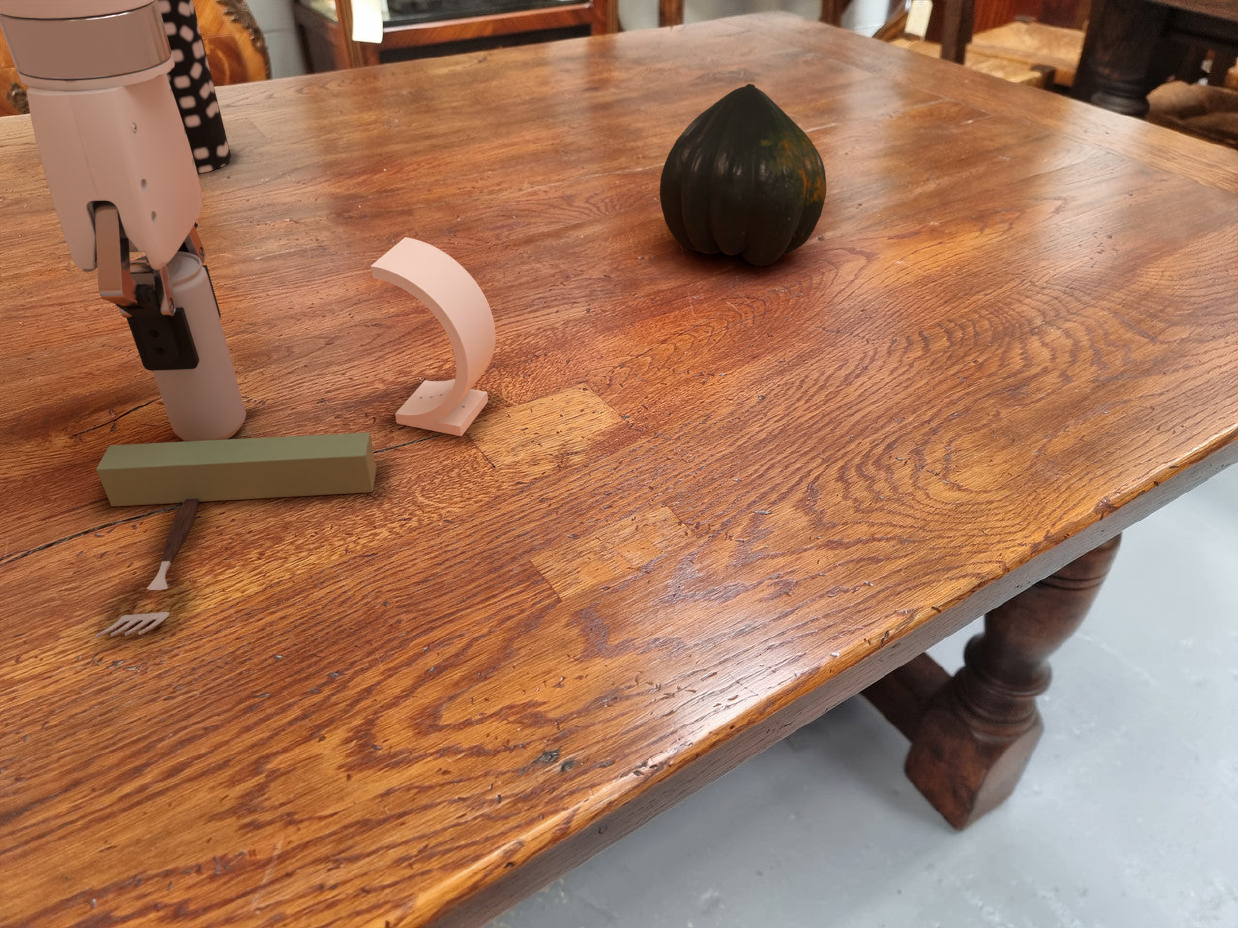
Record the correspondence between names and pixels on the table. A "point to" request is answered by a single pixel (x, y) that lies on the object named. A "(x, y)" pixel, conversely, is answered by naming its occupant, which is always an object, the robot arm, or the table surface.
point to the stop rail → (238, 469)
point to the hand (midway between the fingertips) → (184, 341)
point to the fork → (161, 569)
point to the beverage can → (210, 391)
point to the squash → (743, 180)
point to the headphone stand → (463, 322)
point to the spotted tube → (194, 86)
